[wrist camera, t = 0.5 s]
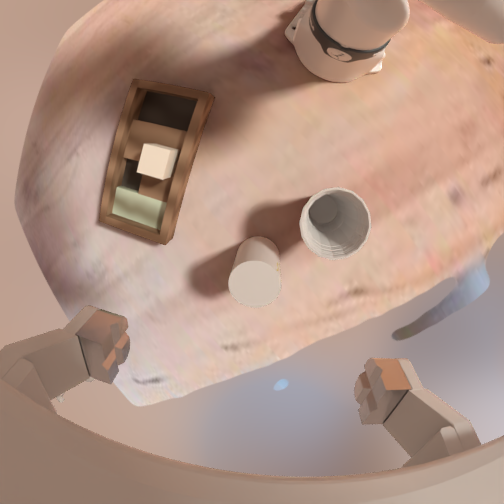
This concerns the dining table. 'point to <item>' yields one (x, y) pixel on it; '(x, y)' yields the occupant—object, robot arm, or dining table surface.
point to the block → (158, 161)
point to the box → (129, 152)
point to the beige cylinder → (256, 273)
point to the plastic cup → (335, 223)
